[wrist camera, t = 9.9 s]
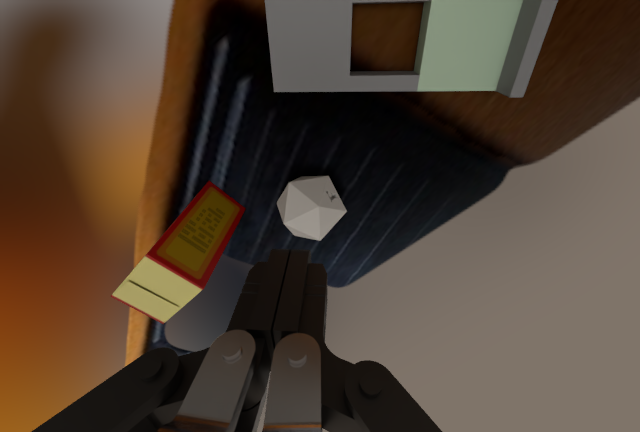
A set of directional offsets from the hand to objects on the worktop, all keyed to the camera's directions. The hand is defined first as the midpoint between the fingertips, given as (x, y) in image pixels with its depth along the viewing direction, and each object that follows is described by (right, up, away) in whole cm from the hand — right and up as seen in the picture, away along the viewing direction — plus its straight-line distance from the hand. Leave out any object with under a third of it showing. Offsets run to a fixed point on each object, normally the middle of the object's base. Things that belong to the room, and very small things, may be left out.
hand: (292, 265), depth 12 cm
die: (0, +5, +29) cm, 30 cm away
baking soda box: (-16, +3, +33) cm, 36 cm away
